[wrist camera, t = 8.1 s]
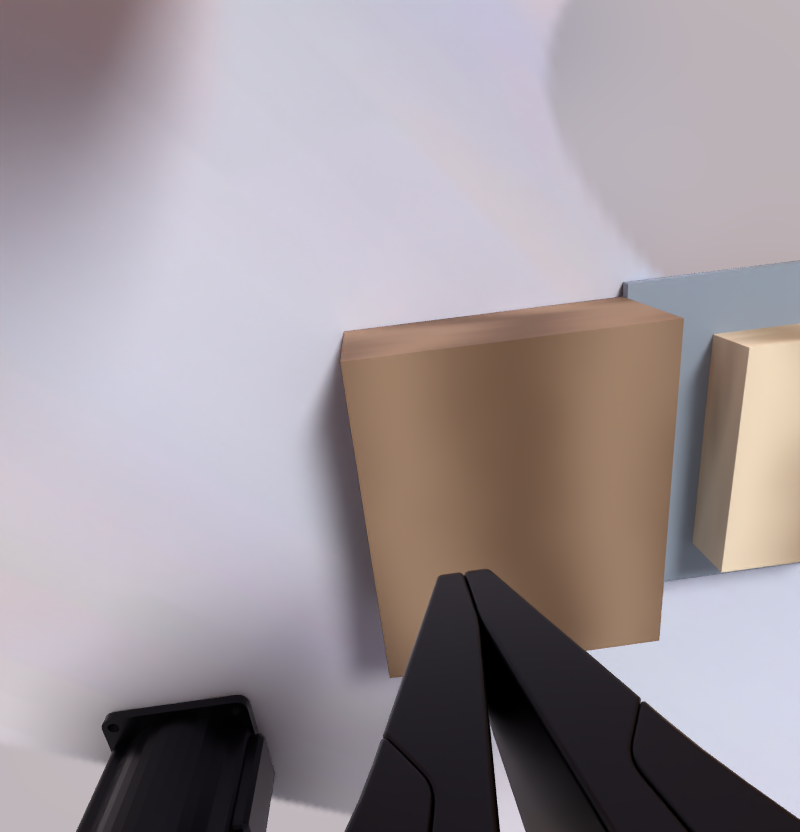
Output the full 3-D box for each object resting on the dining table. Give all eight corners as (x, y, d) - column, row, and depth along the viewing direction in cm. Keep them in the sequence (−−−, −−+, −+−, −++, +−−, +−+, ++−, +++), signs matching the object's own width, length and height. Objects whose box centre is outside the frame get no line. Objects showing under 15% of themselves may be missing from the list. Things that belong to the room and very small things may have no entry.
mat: (612, 582, 24) (616, 587, 24) (623, 282, 19) (628, 283, 19) (834, 551, 24) (841, 557, 24) (898, 248, 20) (908, 248, 19)
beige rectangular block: (871, 552, 21) (831, 524, 23) (926, 325, 18) (874, 314, 20) (721, 572, 21) (692, 542, 23) (749, 347, 18) (713, 334, 20)
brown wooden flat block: (385, 603, 24) (390, 677, 20) (344, 331, 19) (340, 361, 16) (612, 572, 24) (659, 640, 20) (622, 296, 20) (684, 318, 16)
